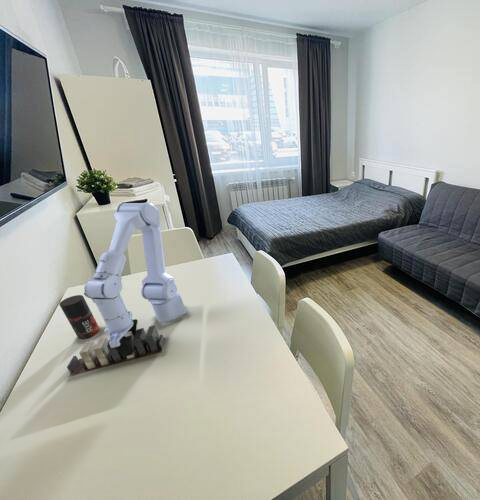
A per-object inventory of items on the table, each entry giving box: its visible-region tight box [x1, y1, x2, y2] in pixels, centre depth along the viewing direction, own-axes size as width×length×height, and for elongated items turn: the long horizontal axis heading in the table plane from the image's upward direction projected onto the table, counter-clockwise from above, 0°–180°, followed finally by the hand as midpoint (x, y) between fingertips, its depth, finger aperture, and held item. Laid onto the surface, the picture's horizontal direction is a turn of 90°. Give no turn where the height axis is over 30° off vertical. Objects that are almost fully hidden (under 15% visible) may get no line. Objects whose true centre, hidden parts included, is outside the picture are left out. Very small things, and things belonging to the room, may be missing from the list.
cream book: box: [124, 331, 135, 359], centre depth 84 cm, size 2×5×6 cm, turn 21°
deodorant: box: [59, 294, 101, 341], centre depth 91 cm, size 6×6×15 cm
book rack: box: [66, 324, 166, 378], centre depth 83 cm, size 24×7×8 cm, turn 112°
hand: (131, 348), depth 85 cm, fingers closed on cream book, 5 cm apart
